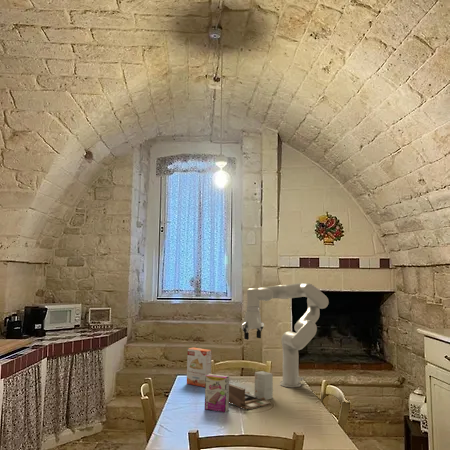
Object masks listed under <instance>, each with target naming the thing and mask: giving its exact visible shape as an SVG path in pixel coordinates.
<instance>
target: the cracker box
mask: <svg viewBox="0 0 450 450" xmlns="http://www.w3.org/2000/svg"><path fill="white" fill-rule="evenodd" d="M186 359H187V360H186V385H192V386H197V387H202V388H205V380H206V375H208V374H212V349H206V348H201V347H188V348H187V357H186Z"/></svg>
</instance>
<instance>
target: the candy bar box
mask: <svg viewBox="0 0 450 450" xmlns="http://www.w3.org/2000/svg"><path fill="white" fill-rule="evenodd" d="M229 384H230V375H224V374H216V373H211V374H208V375H206V380H205V387H204V393H205V394H204V410H206V411H207V410H208V411H212V412H213V411H214V412H222V413H227V411H229V408H230V407H229V406H230V405H229V404H230V403H229Z"/></svg>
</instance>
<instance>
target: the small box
mask: <svg viewBox="0 0 450 450" xmlns="http://www.w3.org/2000/svg"><path fill="white" fill-rule="evenodd" d="M273 375H274V374H273V373H271V372H267V371H263V370H262V371H255V372H254V396H257V398H263V397H264V398H265V400H267V401H269V400H270V399H274V397H273V395H274V393H273V391H274V389H273V387H274V380H273V379H274V378H273Z"/></svg>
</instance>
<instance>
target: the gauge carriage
mask: <svg viewBox="0 0 450 450" xmlns="http://www.w3.org/2000/svg"><path fill="white" fill-rule="evenodd" d="M246 392H247V391H245V401H246V400H254V399H257V400H260V401H262V400H261V399H258V398H257V396H255V394H254V395H253V394H252V393H251V394H250V393H249V394H248V393H246Z"/></svg>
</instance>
